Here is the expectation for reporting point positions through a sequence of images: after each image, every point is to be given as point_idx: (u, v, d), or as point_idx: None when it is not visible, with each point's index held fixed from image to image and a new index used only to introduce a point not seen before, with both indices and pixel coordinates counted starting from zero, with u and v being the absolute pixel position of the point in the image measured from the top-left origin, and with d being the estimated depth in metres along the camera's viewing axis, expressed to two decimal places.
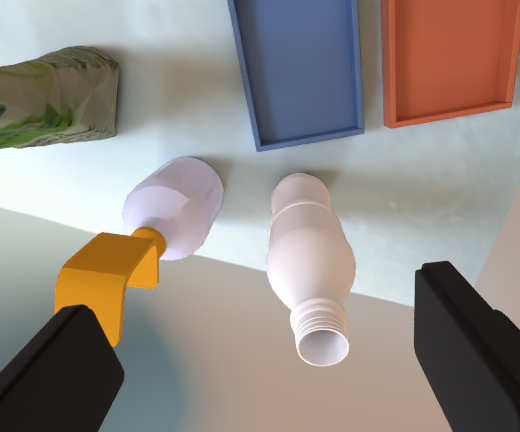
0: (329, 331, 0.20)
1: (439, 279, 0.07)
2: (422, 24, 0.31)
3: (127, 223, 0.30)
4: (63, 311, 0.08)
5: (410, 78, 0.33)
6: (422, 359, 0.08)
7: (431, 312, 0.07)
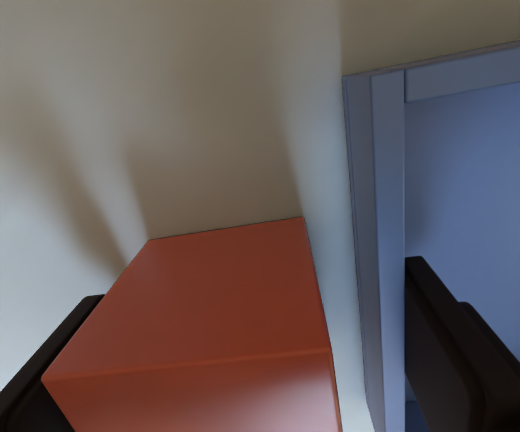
0: None
1: (411, 272, 0.07)
2: None
3: None
4: (86, 301, 0.09)
5: None
6: None
7: None
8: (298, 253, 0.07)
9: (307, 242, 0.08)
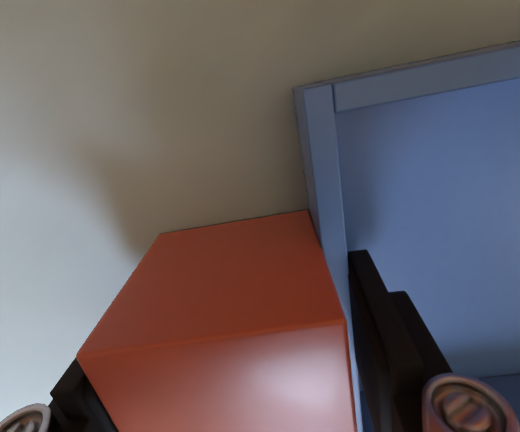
0: None
1: (354, 264, 0.08)
2: None
3: None
4: None
5: None
6: None
7: None
8: (306, 241, 0.08)
9: (314, 231, 0.08)
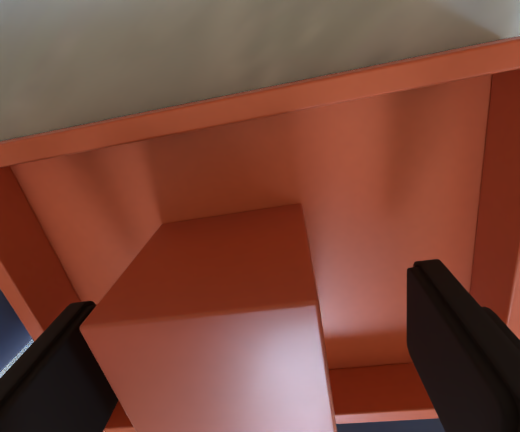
0: None
1: (429, 276, 0.07)
2: None
3: None
4: (71, 307, 0.09)
5: (360, 327, 0.12)
6: (414, 356, 0.08)
7: (421, 309, 0.07)
8: (295, 232, 0.08)
9: (303, 223, 0.09)
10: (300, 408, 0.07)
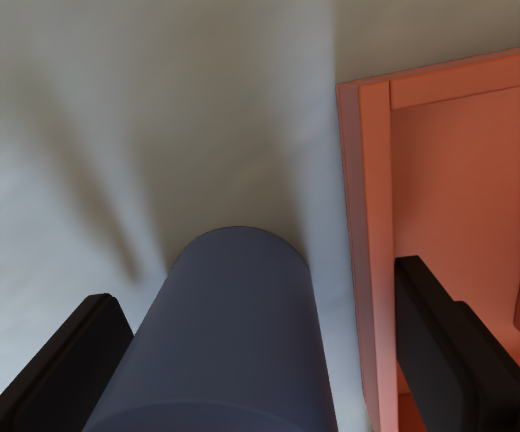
0: None
1: (407, 271, 0.07)
2: None
3: None
4: (89, 299, 0.09)
5: None
6: (396, 349, 0.09)
7: (401, 303, 0.07)
8: None
9: None
10: None
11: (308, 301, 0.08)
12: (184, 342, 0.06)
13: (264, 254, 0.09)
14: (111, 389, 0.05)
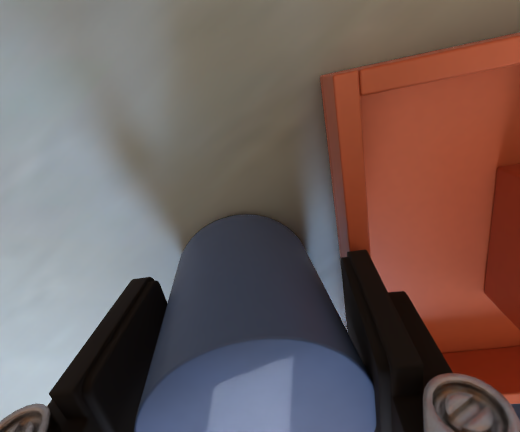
0: None
1: (353, 264, 0.08)
2: None
3: None
4: (135, 282, 0.09)
5: None
6: (350, 337, 0.09)
7: (348, 293, 0.08)
8: None
9: None
10: None
11: (315, 270, 0.09)
12: (229, 301, 0.06)
13: (271, 234, 0.10)
14: (169, 350, 0.06)
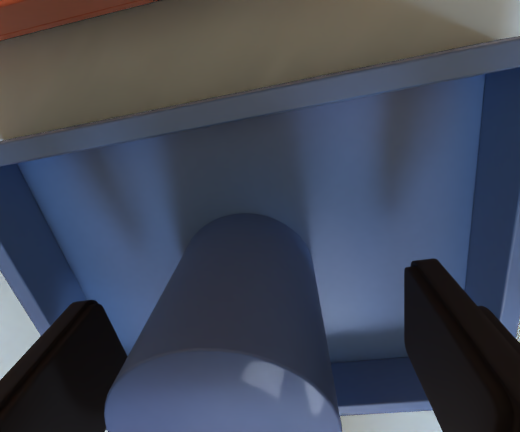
0: None
1: (426, 276, 0.07)
2: None
3: None
4: (74, 306, 0.09)
5: None
6: (412, 354, 0.08)
7: (419, 308, 0.07)
8: None
9: None
10: None
11: (308, 278, 0.09)
12: (199, 306, 0.07)
13: (268, 236, 0.10)
14: (138, 346, 0.06)
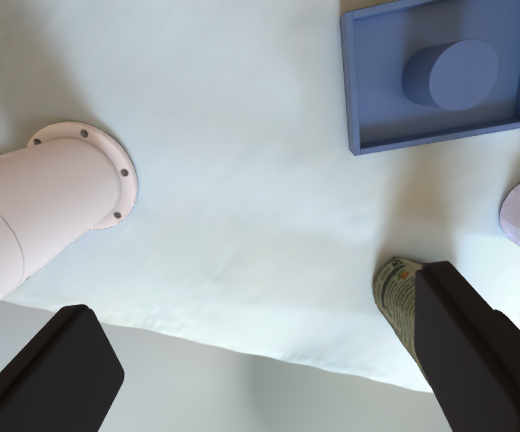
0: None
1: (439, 279, 0.07)
2: None
3: None
4: (63, 311, 0.08)
5: None
6: (422, 359, 0.08)
7: (431, 312, 0.07)
8: None
9: None
10: None
11: None
12: (456, 41, 0.23)
13: None
14: (441, 50, 0.23)
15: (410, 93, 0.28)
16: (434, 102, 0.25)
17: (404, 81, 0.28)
